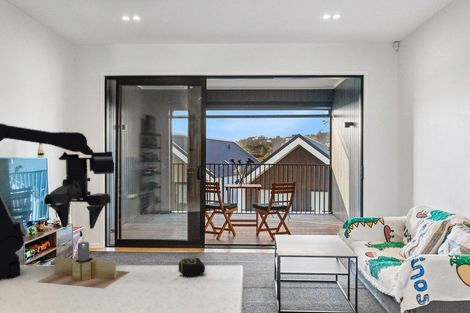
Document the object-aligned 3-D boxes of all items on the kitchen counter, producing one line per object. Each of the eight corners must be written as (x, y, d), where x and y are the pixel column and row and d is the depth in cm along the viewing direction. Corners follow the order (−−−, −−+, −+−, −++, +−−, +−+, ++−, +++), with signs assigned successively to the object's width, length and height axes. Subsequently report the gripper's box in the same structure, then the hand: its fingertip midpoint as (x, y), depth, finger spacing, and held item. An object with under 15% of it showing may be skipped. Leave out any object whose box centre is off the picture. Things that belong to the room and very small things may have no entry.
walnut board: (36, 285, 93) (36, 281, 93) (68, 270, 104) (68, 266, 104) (104, 292, 88) (103, 288, 88) (130, 275, 99) (130, 271, 99)
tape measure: (205, 276, 98) (205, 263, 98) (180, 279, 96) (180, 265, 96) (200, 268, 105) (200, 255, 105) (177, 271, 103) (176, 258, 102)
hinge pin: (76, 278, 95) (75, 244, 94) (83, 274, 98) (82, 241, 97) (85, 279, 94) (84, 245, 94) (92, 275, 97) (91, 242, 97)
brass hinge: (46, 278, 95) (46, 261, 95) (63, 270, 101) (63, 254, 101) (108, 283, 91) (108, 266, 91) (121, 275, 97) (121, 258, 97)
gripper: (28, 177, 100) (30, 233, 100) (86, 177, 95) (88, 236, 95) (57, 174, 110) (58, 224, 111) (111, 174, 106) (112, 227, 106)
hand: (78, 228), depth 105 cm, fingers open, 9 cm apart
